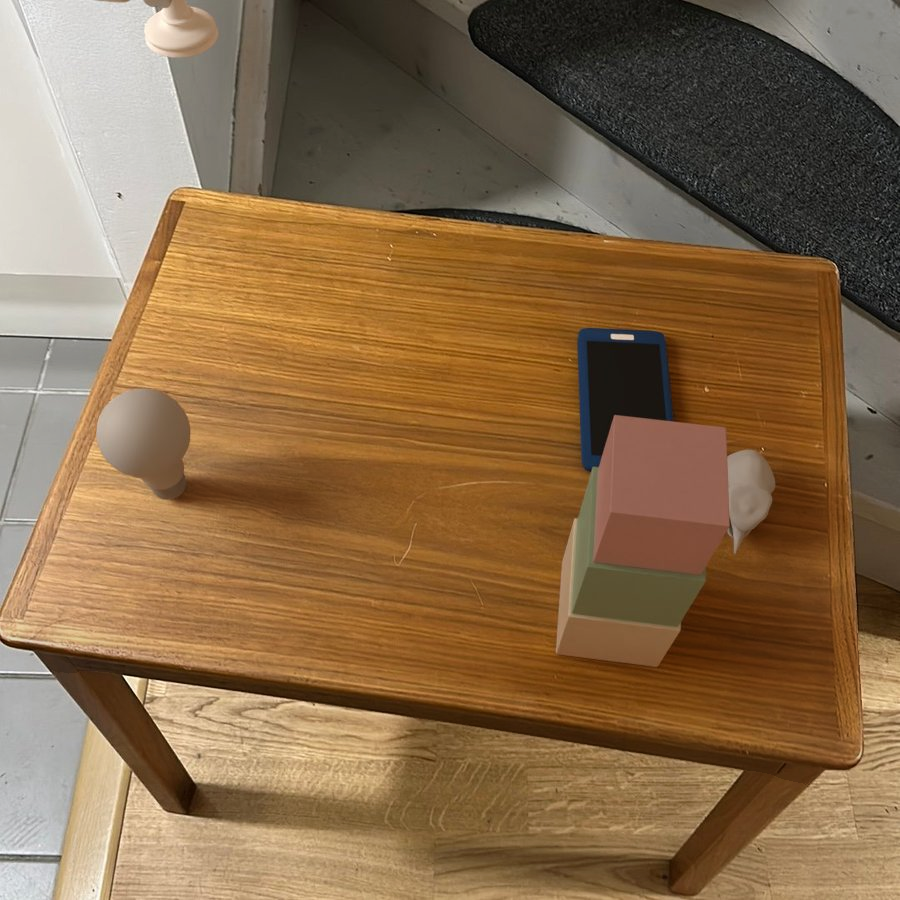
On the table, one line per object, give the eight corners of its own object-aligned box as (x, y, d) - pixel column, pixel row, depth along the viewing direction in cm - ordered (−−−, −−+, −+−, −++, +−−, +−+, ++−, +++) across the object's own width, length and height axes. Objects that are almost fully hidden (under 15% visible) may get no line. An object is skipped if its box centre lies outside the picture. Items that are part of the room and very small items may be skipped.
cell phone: (663, 335, 78) (665, 330, 77) (677, 477, 71) (679, 472, 70) (576, 331, 78) (577, 325, 78) (581, 473, 71) (582, 468, 70)
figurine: (764, 477, 71) (785, 444, 67) (755, 569, 67) (776, 539, 63) (714, 466, 72) (732, 432, 67) (702, 557, 67) (720, 526, 63)
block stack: (555, 654, 63) (600, 519, 46) (561, 562, 67) (605, 405, 50) (657, 667, 63) (740, 536, 46) (658, 574, 67) (735, 420, 50)
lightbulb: (122, 471, 70) (75, 387, 61) (201, 445, 72) (166, 359, 62) (141, 537, 68) (94, 459, 58) (222, 509, 69) (189, 428, 60)
